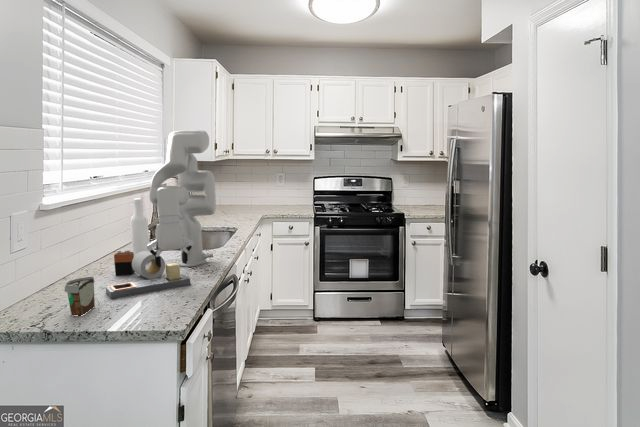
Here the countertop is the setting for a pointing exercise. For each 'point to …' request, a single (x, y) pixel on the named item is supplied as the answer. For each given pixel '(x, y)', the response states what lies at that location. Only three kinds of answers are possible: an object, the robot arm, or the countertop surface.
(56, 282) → the countertop surface
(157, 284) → the rail
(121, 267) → the battery
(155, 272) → the toilet paper
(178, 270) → the tan wooden block
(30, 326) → the countertop surface
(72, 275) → the countertop surface
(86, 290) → the food container
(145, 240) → the bottle
